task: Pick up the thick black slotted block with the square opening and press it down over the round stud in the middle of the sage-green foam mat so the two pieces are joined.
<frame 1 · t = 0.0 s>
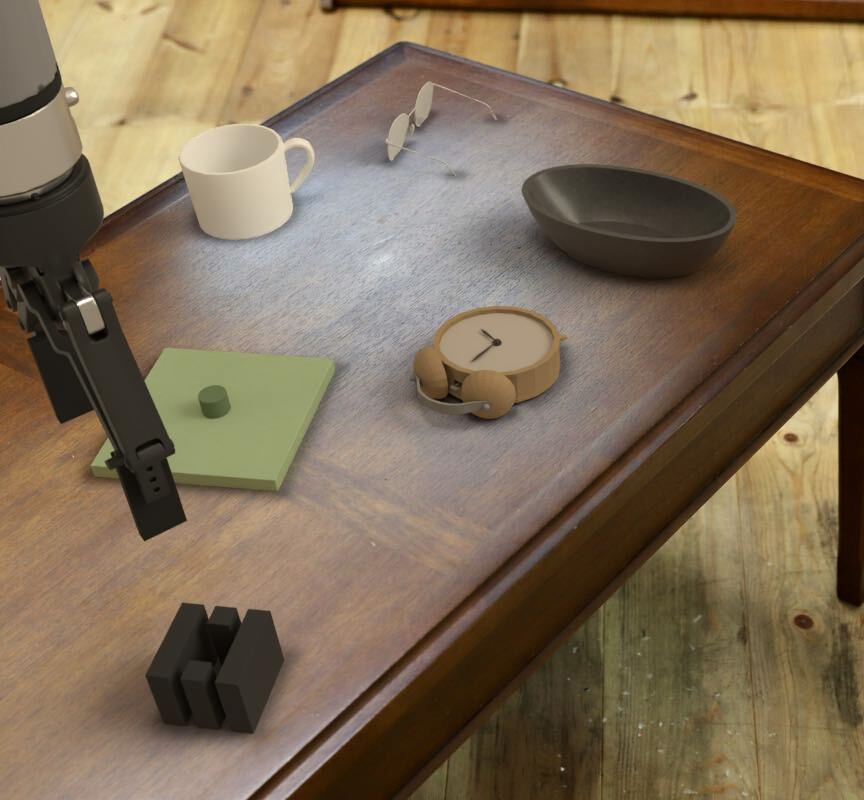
hand: (119, 467, 86), 20 cm above the table, tool pointing down, fingers open, 13 cm apart
mug: (260, 215, 146), on the table
sage mat: (220, 422, 120), on the table
sunglasses: (443, 146, 156), on the table
bowl: (628, 256, 137), on the table
black slotted block: (226, 693, 97), on the table
alarm clock: (487, 383, 123), on the table
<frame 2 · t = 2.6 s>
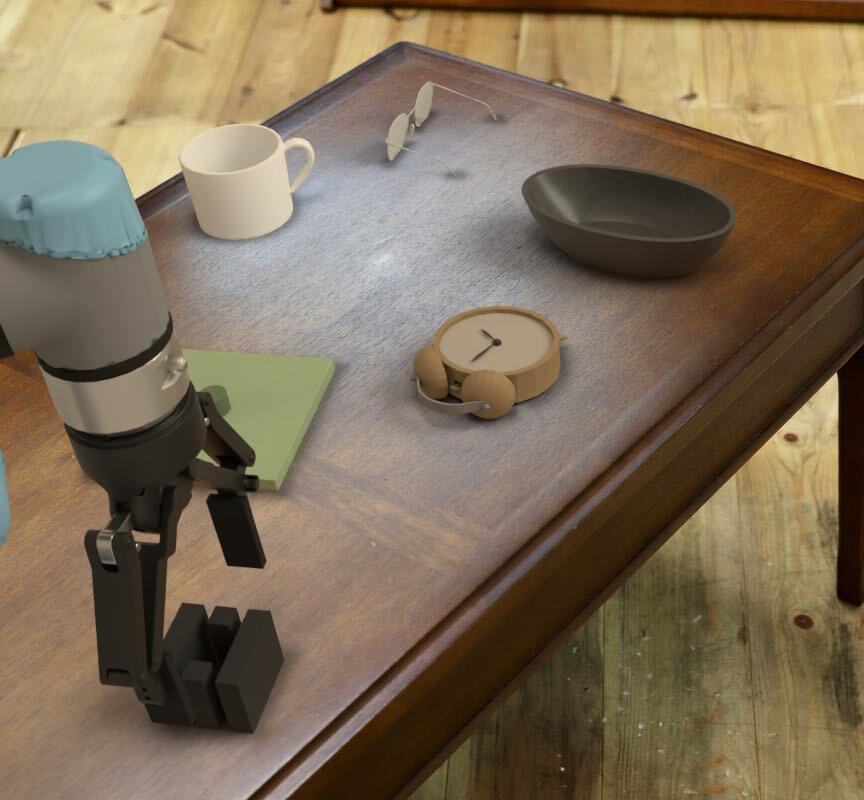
hand: (212, 637, 93), 6 cm above the table, tool pointing down, fingers open, 13 cm apart
nothing on the table moved.
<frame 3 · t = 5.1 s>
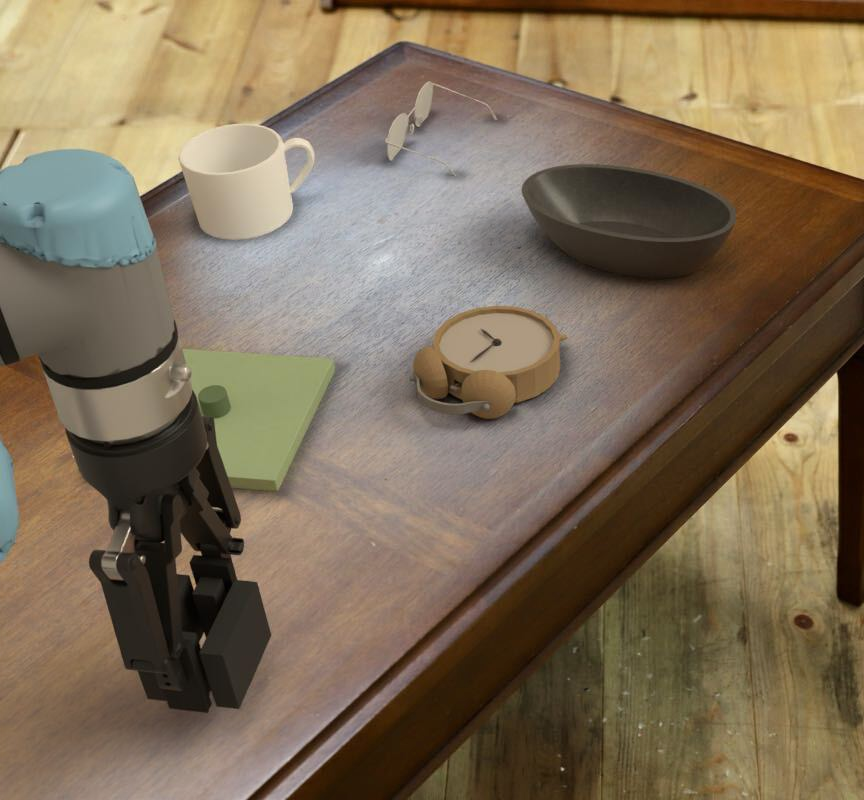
hand: (210, 664, 95), 3 cm above the table, tool pointing down, fingers closed on black slotted block, 6 cm apart
black slotted block: (211, 666, 95), point 3 cm above the table, touching gripper
everything else where it was.
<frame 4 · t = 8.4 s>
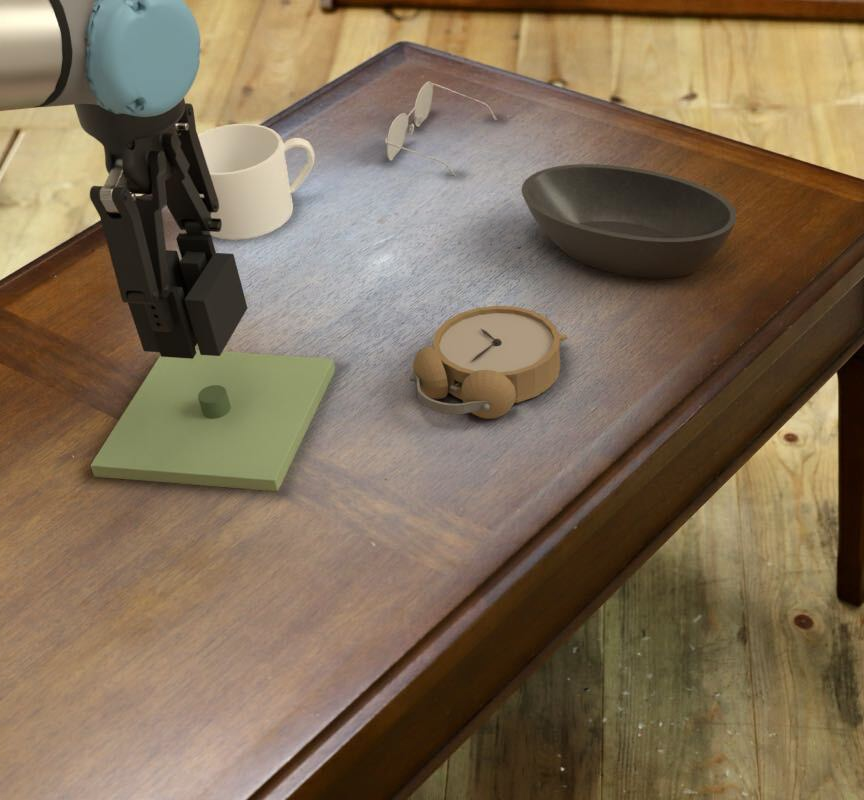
hand: (195, 327, 113), 10 cm above the table, tool pointing down, fingers closed on black slotted block, 6 cm apart
black slotted block: (196, 329, 113), point 10 cm above the table, touching gripper
everything else where it was.
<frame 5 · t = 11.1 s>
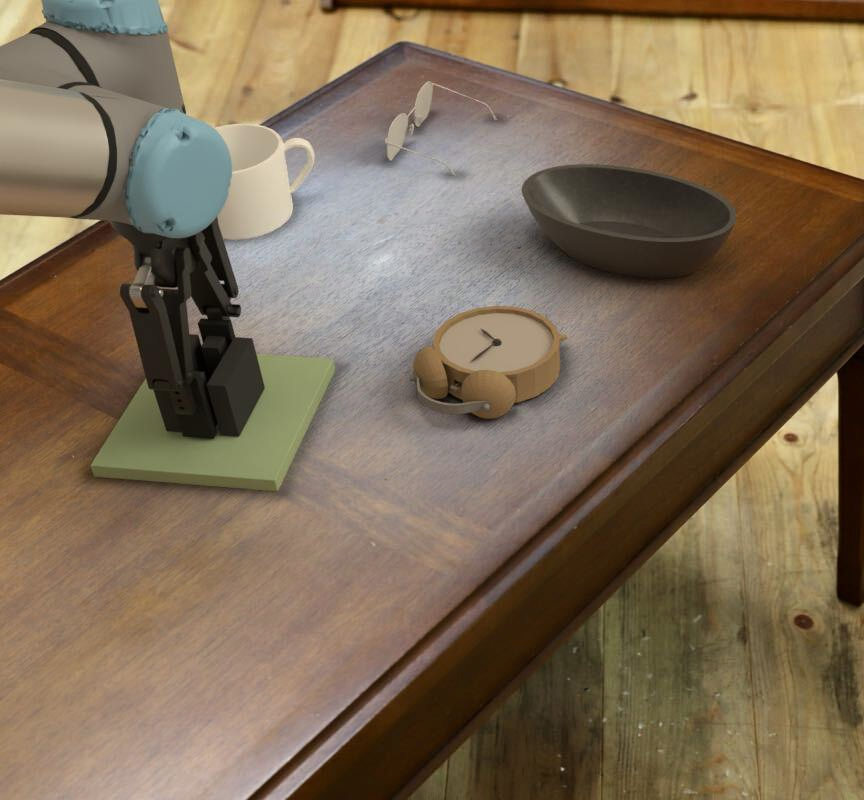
hand: (215, 407, 118), 2 cm above the table, tool pointing down, fingers closed on black slotted block, 6 cm apart
black slotted block: (216, 409, 119), point 2 cm above the table, touching gripper
everything else where it was.
when the fingers open (2 cm above the table, at t = 11.7 s): black slotted block stays where it is, resting on sage mat.
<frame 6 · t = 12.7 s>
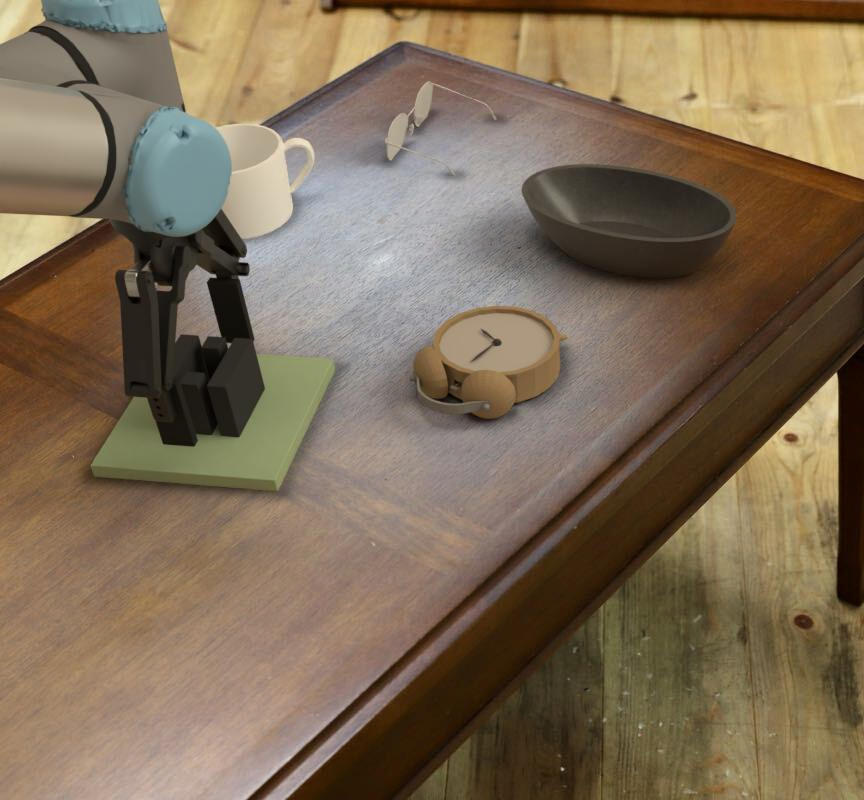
hand: (211, 390, 117), 4 cm above the table, tool pointing down, fingers open, 13 cm apart
black slotted block: (216, 410, 119), point 1 cm above the table, touching sage mat
everything else where it was.
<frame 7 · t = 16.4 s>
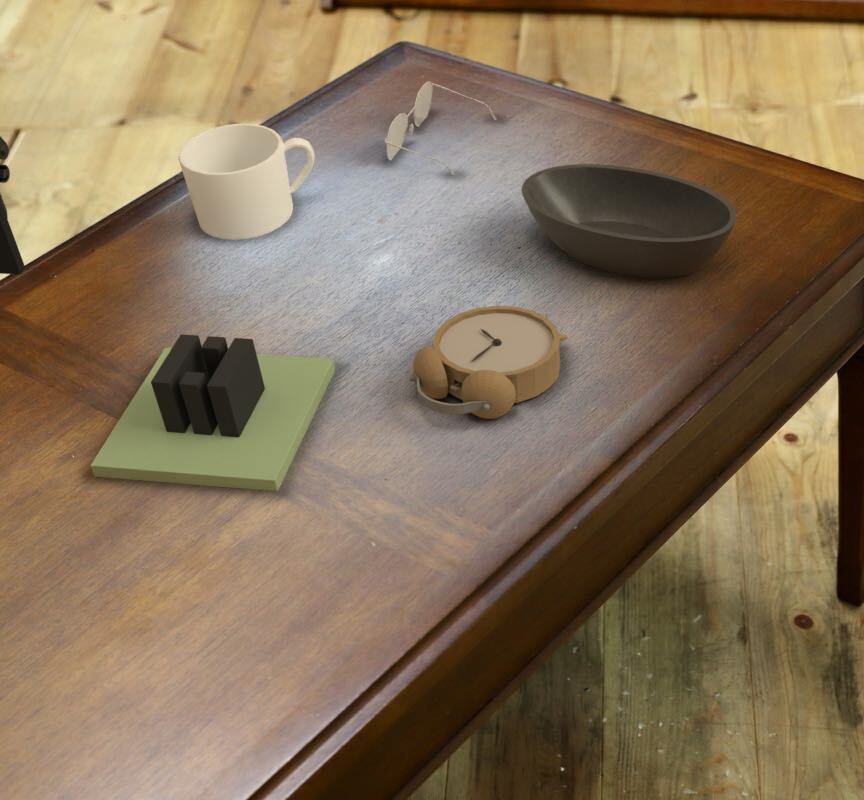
nothing on the table moved.
at the end: black slotted block 0.0 cm off-centre on the sage mat, point 1.5 cm above the sage mat's base; black slotted block tilted 0°; the gripper is holding nothing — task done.
